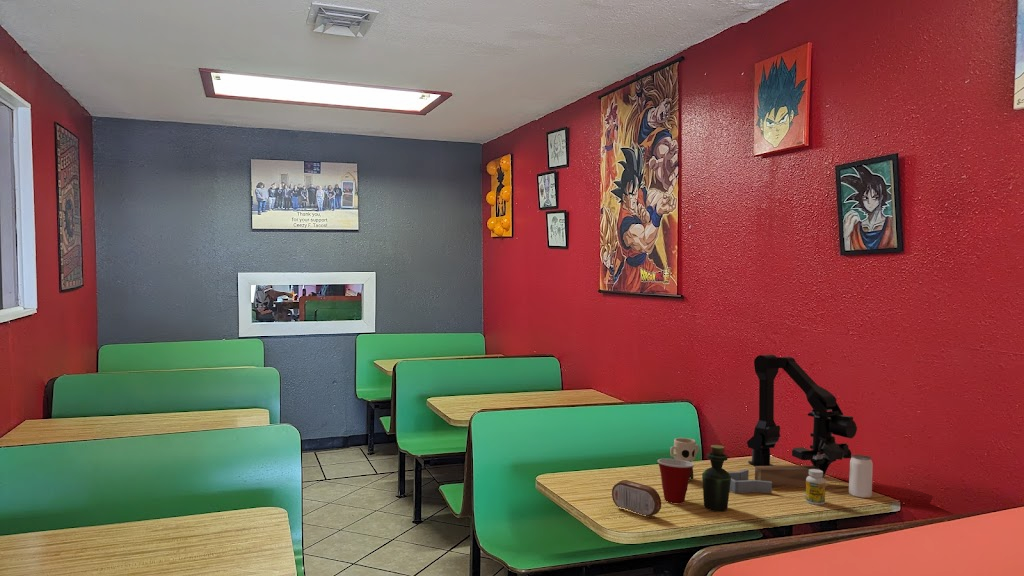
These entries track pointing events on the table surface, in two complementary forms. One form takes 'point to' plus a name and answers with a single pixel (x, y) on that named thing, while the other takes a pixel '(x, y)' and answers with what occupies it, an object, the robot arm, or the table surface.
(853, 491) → the can
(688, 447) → the character mug
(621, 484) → the tin
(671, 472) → the plastic cup
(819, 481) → the supplement bottle
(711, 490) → the potion bottle
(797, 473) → the walnut slat
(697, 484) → the table surface
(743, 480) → the grey stepped block
